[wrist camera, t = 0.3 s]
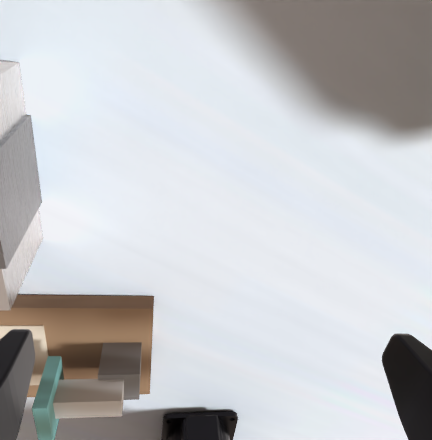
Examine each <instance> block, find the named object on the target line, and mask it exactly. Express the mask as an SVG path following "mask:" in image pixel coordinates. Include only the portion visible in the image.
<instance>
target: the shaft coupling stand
mask: <svg viewBox="0 0 432 440" xmlns="http://www.w3.org/2000/svg"><path fill="white" fill-rule="evenodd" d="M153 303H154V296H89V295H17V297H16V299H15V301H14V303H13V306H12V308H11V310H0V339H1V338H2V337H4V336H5V335H6V334H7V333H8V332H9V331H10V330H13V329H29V330H31V332H32V335H33V342H34V349H35V363H34V368H33V372H32V377H31V381H30V385H29V390H28V394H27V397H35V400H34V404H33V407H32V411H33V416H34V421H35V426H36V431H37V435H38V440H54V439H55V434H56V430H57V426H58V422H59V419H61V418H90V417H119V416H122V409H123V400H132V399H139V394H150V373H151V350H152V327H153Z"/></svg>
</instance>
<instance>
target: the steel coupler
mask: <svg viewBox="0 0 432 440" xmlns="http://www.w3.org/2000/svg"><path fill="white" fill-rule="evenodd" d="M41 203H42V199H41V191H40V184H39V176H38V168H37V161H36V153H35V145H34V137H33V130H32V122H31V115H26V108H25V101H24V93H23V86H22V79H21V71H20V64H19V62H8V61H0V310H11V308H12V306H13V303H14V301H15V299H16V297H17V295H18V292H19V290H20V288H21V286H22V284H23V281H24V279H25V277H26V275H27V273H28V270H29V268H30V266H31V264H32V262H33V259H34V257H35V255H36V253H37V251H38V248H39V246H40V244H41V242H42V240H43V234H42V227H41V219H40V212H39V207H40V205H41Z"/></svg>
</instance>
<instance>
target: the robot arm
mask: <svg viewBox="0 0 432 440" xmlns="http://www.w3.org/2000/svg"><path fill="white" fill-rule="evenodd" d="M34 363H35V349H34V342H33V335H32V332H31V330H29V329H13V330H10V331H9V332H8V333H7V334H6V335H5V336H4V337H2V338H1V339H0V440H16V438H17V435H18V432H19V428H20V424H21V420H22V416H23V412H24V407H25V403H26V399H27V394H28V390H29V385H30V381H31V377H32V372H33V368H34ZM382 363H383V367H384V370H385V373H386V376H387V379H388V383H389V386H390V389H391V392H392V395H393V399H394V402H395V405H396V408H397V411H398V414H399V417H400V420H401V422H402V425H403V428H404V430H405V432H406V435H407V437H408V440H432V350H431V349H429V348H428V347H427V346H425V345H424V344H423V343H421V342H420V341H419V340H417V339H416V338H415V337H413V336H412V335H410V334H394V335H393V336H392V337H391V339H390V341H389V343H388V345H387V346H386V348H385V350H384V352H383V355H382ZM237 420H238V417H237V413H236V412H207V413H177V414H166V415H164V417H163V426H162V439H161V440H233V437H234V432H235V428H236V424H237Z"/></svg>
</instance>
